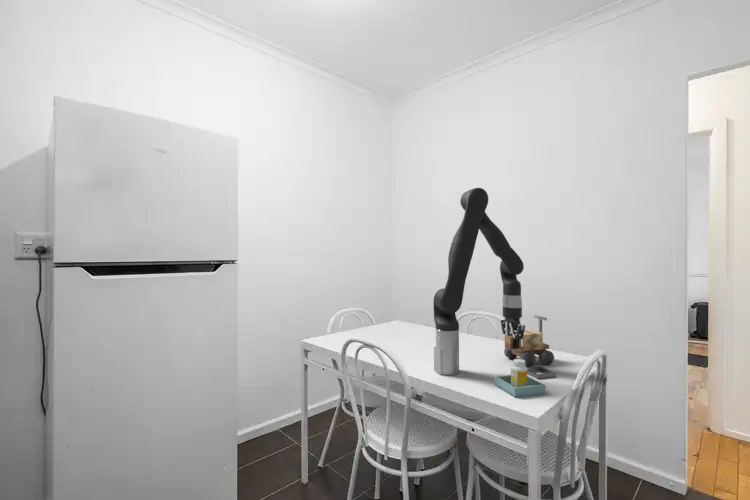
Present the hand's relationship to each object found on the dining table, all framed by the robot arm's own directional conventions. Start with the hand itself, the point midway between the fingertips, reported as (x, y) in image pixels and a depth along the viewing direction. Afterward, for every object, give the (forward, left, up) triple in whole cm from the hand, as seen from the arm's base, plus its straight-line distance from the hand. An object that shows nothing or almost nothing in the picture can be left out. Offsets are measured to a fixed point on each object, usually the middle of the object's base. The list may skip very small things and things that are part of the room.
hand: (512, 346), depth 156 cm
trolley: (+12, +6, -9) cm, 16 cm away
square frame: (+5, -10, -9) cm, 14 cm away
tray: (-12, -21, -9) cm, 26 cm away
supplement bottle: (-12, -21, -8) cm, 26 cm away
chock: (0, 0, -1) cm, 1 cm away
